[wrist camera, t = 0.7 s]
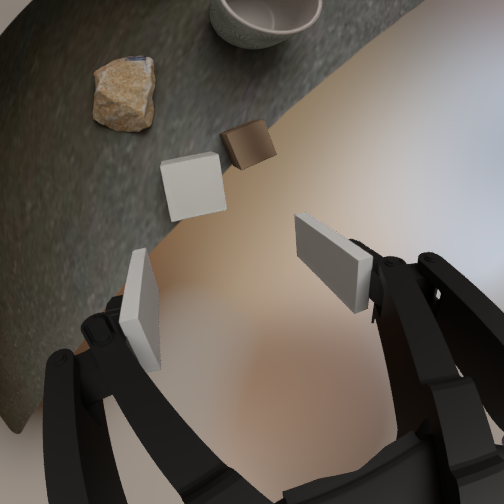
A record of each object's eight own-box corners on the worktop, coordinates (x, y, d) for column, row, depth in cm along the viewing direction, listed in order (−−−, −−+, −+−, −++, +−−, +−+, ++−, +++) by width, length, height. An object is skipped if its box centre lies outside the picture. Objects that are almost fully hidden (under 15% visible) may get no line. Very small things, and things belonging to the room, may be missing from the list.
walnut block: (233, 165, 40) (241, 170, 35) (219, 133, 38) (226, 134, 33) (264, 151, 40) (277, 154, 36) (252, 120, 38) (263, 119, 34)
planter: (204, 56, 32) (217, 31, 23) (203, -14, 27) (216, -51, 18) (289, 58, 35) (326, 41, 26) (285, -8, 30) (318, -37, 20)
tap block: (170, 209, 40) (171, 222, 35) (161, 161, 37) (160, 166, 32) (218, 199, 41) (227, 209, 36) (211, 151, 38) (218, 154, 33)
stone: (158, 58, 31) (157, 50, 27) (152, 131, 35) (150, 130, 31) (99, 62, 29) (91, 54, 25) (93, 134, 33) (84, 135, 29)
